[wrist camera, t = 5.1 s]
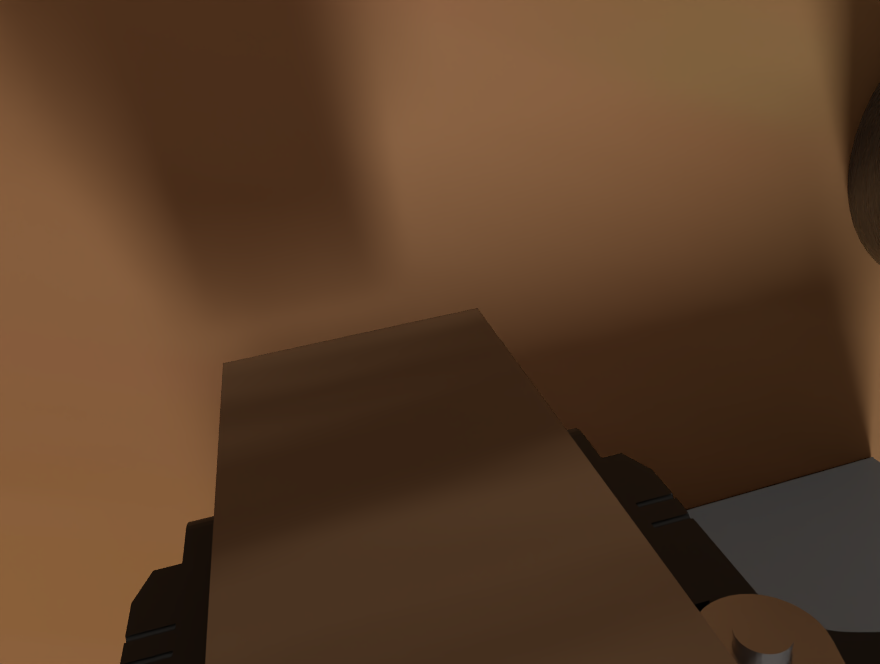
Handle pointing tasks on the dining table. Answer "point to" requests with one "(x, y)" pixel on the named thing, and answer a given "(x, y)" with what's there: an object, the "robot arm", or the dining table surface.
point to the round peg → (867, 178)
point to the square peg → (424, 516)
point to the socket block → (808, 543)
